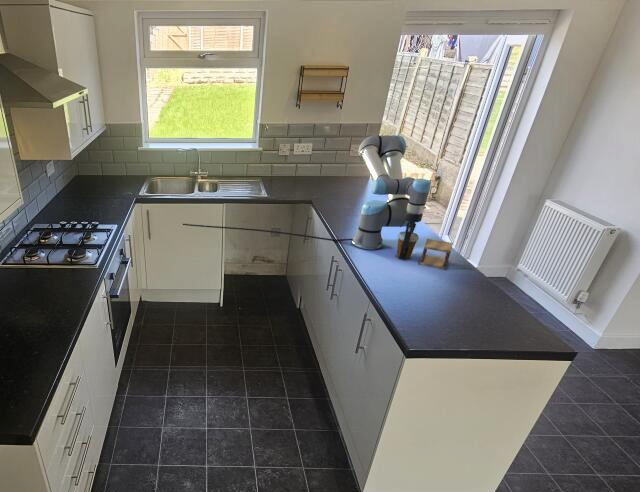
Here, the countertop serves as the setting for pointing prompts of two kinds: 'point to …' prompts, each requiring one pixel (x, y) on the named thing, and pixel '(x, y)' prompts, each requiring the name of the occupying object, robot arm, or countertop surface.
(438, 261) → the oak rack
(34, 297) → the countertop surface
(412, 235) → the disposable coffee cup
